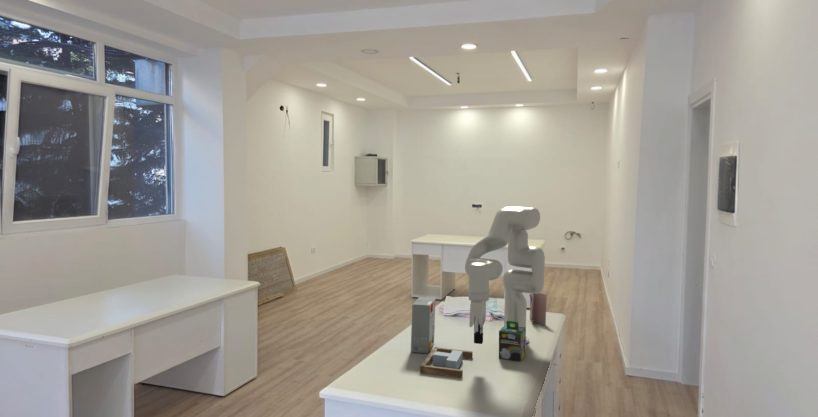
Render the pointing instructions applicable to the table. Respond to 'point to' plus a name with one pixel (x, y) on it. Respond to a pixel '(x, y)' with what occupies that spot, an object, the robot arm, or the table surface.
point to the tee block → (448, 359)
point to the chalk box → (512, 342)
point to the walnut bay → (443, 371)
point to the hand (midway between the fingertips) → (478, 342)
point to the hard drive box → (423, 325)
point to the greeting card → (538, 308)
